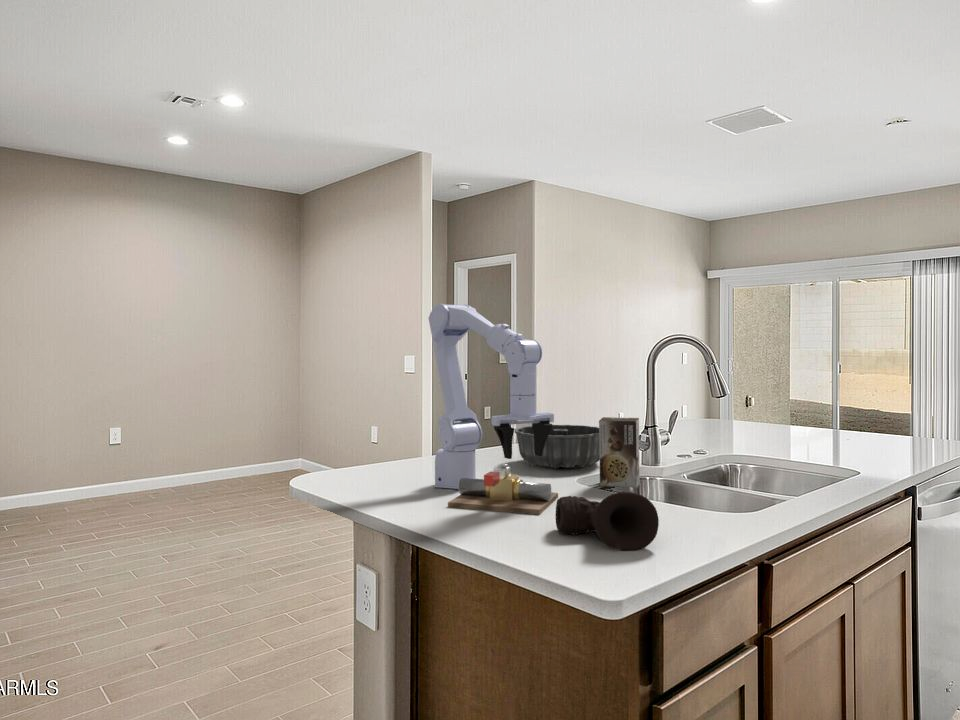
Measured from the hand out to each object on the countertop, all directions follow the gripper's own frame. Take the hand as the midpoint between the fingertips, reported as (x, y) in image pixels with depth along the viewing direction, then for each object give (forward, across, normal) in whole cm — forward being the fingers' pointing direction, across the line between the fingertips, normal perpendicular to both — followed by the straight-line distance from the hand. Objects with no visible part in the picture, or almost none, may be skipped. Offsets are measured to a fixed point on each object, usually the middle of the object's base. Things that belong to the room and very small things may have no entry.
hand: (523, 456), depth 148 cm
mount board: (+10, -4, +1) cm, 11 cm away
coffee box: (+10, +29, +4) cm, 31 cm away
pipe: (+10, -1, -31) cm, 32 cm away
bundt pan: (+10, +32, +34) cm, 48 cm away
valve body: (+10, -4, +1) cm, 11 cm away
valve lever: (+4, -7, -2) cm, 9 cm away
